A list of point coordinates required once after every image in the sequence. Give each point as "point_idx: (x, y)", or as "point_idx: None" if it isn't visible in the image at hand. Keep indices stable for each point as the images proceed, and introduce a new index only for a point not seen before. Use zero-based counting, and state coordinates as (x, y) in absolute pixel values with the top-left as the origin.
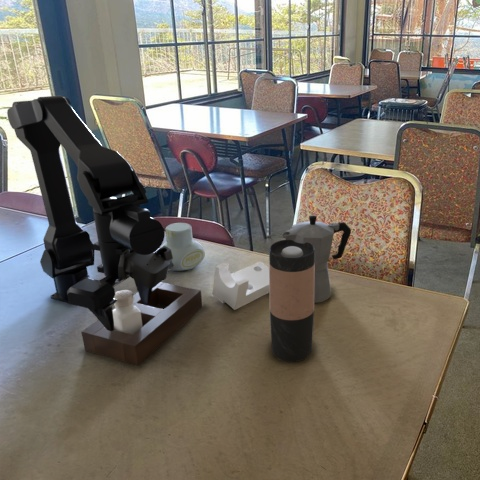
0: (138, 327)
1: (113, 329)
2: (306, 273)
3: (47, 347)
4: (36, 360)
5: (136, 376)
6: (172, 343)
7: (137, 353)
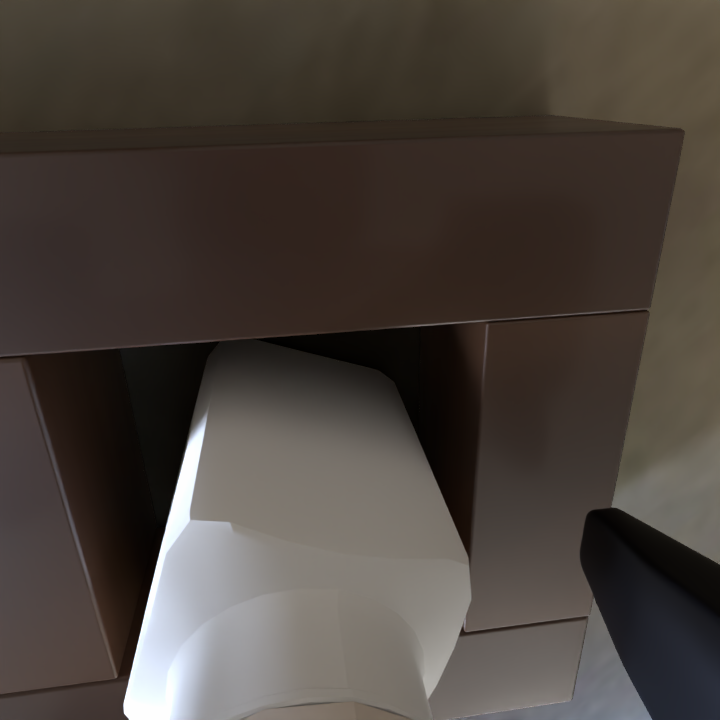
0: (267, 403)
1: (606, 514)
2: None
3: (533, 716)
4: None
5: (681, 23)
6: (135, 23)
7: (601, 122)
